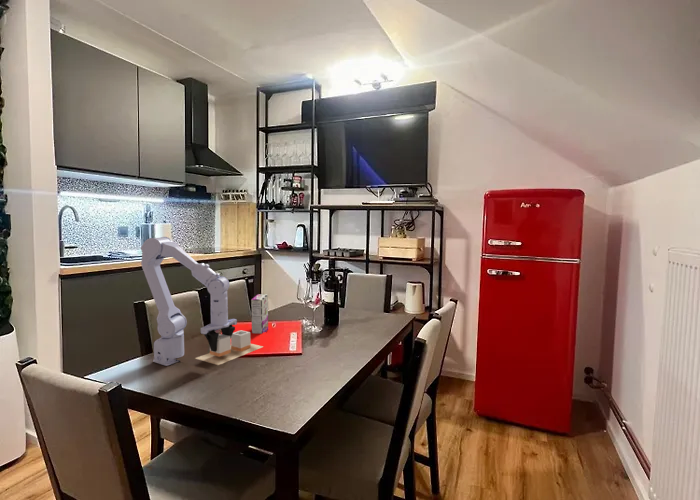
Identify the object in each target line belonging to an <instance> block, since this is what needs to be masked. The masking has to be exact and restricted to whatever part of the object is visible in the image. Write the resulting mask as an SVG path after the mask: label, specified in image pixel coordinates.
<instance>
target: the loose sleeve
mask: <svg viewBox="0 0 700 500" xmlns="http://www.w3.org/2000/svg"><path fill="white" fill-rule="evenodd" d="M209 353H210V354H211V355H215V356H219V357H220V356H223V355H226V354H228V353H231V339H230V336H227V335H223V334H222V333H219V335H218V339H217V350H216V352H214V351H211V349H210V348H209Z"/></svg>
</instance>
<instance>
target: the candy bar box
mask: <svg viewBox="0 0 700 500" xmlns="http://www.w3.org/2000/svg"><path fill="white" fill-rule="evenodd" d="M268 297H269V294H267V293H264V294H262V293H260V294H259V293H258V294H256V295H255V296H253V298H251V300H250V305H251V306H250V308H251V310H250V311H251V334H263V333H265V332H267V331H268V330H269V301H268V300H269V299H268Z"/></svg>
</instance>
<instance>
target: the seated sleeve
mask: <svg viewBox="0 0 700 500" xmlns="http://www.w3.org/2000/svg"><path fill="white" fill-rule="evenodd" d="M230 342H231V349H233V350H237V351H243V350H246V349H248V348H251V344H252V343H251V342H252V341H251V332H250V331H246V330H237V331H234V332H233V334H232V336H231V339H230Z"/></svg>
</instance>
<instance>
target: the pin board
mask: <svg viewBox="0 0 700 500" xmlns="http://www.w3.org/2000/svg"><path fill="white" fill-rule="evenodd" d="M263 348H264V346H263V345H258V344H254V343H251V348H248V349H246V350H243V351H237V350H233V349H231V353H228V354H226V355H223V356H220V357H219V356H215V355H211V354H210V352H209V353H206V354H203V355H200V356H197V357H194V359H195V360H199V361H203V362H206V363H209V364H213V365H216V366H220V365H223V364H225V363H228V362H229V361H232V360H235V359H237V358H238V359H239V358H241V357H242V356H246V355H247V354H250V353H252V352H254V351H257V350H259V349H263Z"/></svg>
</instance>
